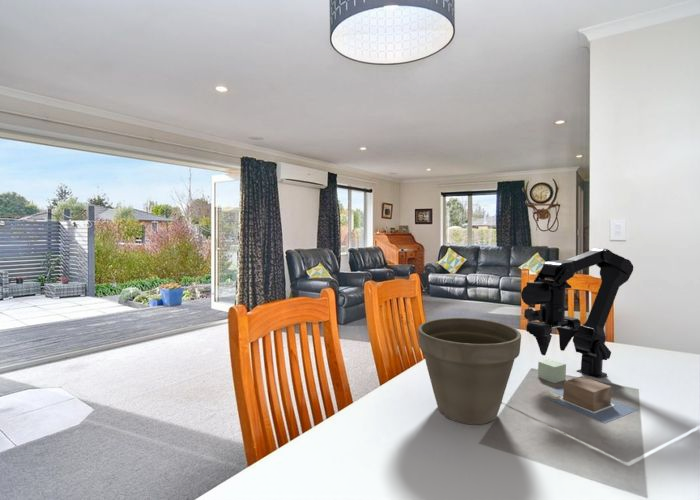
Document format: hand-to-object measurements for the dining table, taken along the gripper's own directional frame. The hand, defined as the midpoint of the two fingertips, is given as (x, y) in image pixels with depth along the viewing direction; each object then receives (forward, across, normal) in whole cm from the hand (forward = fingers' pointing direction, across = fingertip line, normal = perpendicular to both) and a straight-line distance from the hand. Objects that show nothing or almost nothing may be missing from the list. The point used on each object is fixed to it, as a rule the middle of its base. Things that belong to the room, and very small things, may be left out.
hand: (552, 352), depth 123 cm
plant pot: (+9, +39, +3) cm, 40 cm away
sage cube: (+9, 0, 0) cm, 9 cm away
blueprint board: (+9, +7, +15) cm, 19 cm away
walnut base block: (+8, +7, +15) cm, 19 cm away
